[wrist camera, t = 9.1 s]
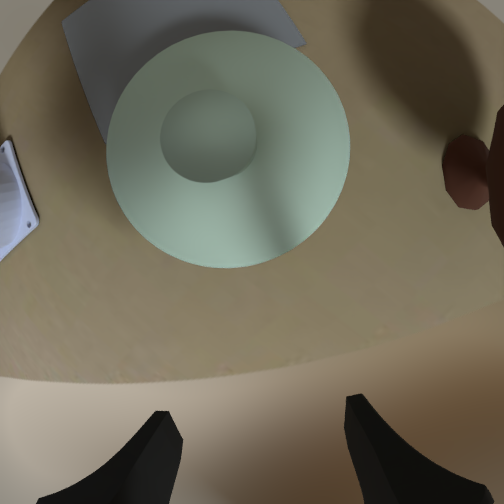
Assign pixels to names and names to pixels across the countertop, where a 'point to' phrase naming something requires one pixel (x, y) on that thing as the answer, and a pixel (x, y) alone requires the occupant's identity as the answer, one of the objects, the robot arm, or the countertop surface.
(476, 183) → the ice cream bowl
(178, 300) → the countertop surface
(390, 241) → the countertop surface
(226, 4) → the placemat
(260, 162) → the lid
